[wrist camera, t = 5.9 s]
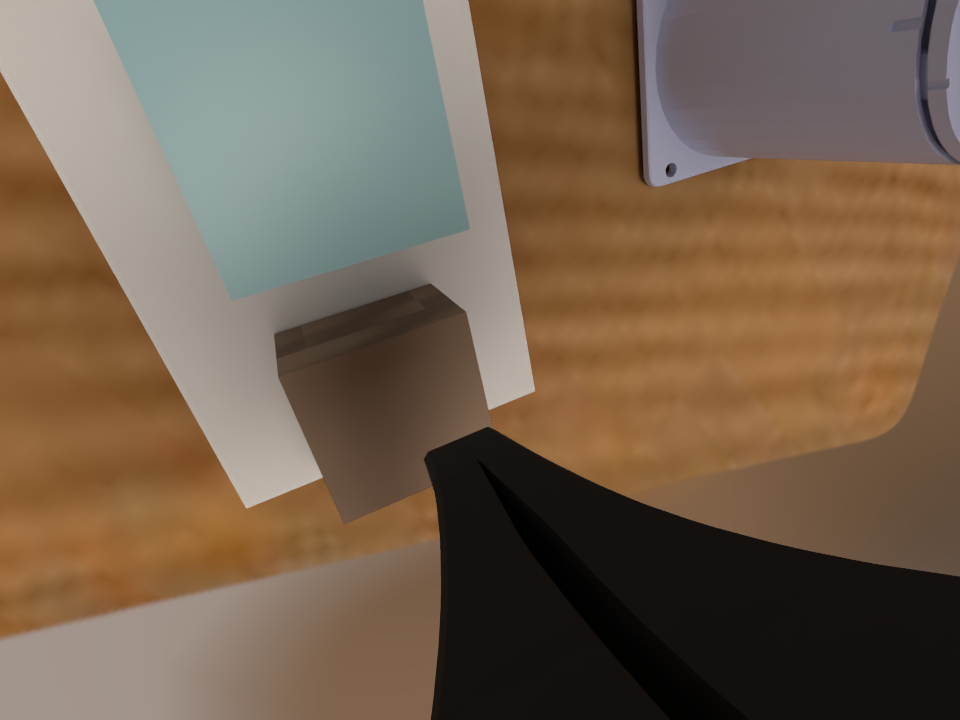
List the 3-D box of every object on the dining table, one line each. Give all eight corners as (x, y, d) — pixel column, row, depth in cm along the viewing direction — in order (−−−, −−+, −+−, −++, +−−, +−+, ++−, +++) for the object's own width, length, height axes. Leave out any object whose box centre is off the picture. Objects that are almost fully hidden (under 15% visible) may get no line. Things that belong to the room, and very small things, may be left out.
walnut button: (430, 283, 16) (466, 312, 13) (463, 410, 18) (499, 456, 16) (273, 333, 15) (278, 377, 12) (330, 464, 17) (343, 524, 14)
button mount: (367, -430, 11) (408, -638, 8) (518, 376, 21) (561, 414, 18) (-272, -471, 8) (-565, -812, 5) (247, 482, 18) (245, 549, 15)
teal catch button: (373, -12, 11) (410, -60, 9) (426, 211, 14) (469, 229, 11) (131, 26, 10) (85, -18, 7) (237, 265, 12) (231, 301, 10)
